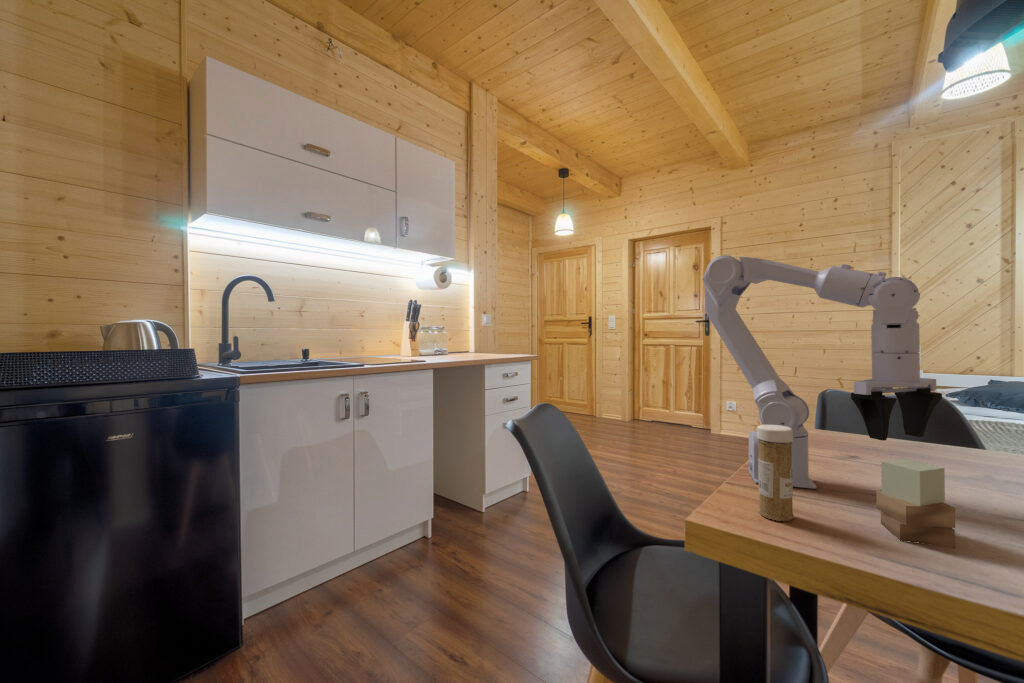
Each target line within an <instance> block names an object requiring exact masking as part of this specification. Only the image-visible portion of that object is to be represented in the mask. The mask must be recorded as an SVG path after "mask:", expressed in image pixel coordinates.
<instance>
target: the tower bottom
mask: <svg viewBox="0 0 1024 683" xmlns="http://www.w3.org/2000/svg"><path fill="white" fill-rule="evenodd" d="M880 524H881V526H882V527H884V528H885V530H887V531H888V532H889V533H891V534H892V535H893V536H894V537H895V536H896V537H897V538H898V539H899V540H900V542H904V541H910V542H909V543H912V542H919V543H924V544H923V545H927V544H931V545H930V546H935V545H936V546H937V547H943V546H944V548H951V547H952V549H955V548H956V530H955V528H944V527H922V526H906V525H904V524H902V523H901V522H899V521H897V520H896V519H894V518H892V517H890V516H889V515H887V514H885V513H884V512H882V511H880ZM896 537H895V538H896ZM897 538H896V539H897ZM898 539H897V540H898ZM899 540H898V541H899ZM901 540H902V541H901ZM919 543H918V544H919Z"/></svg>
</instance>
